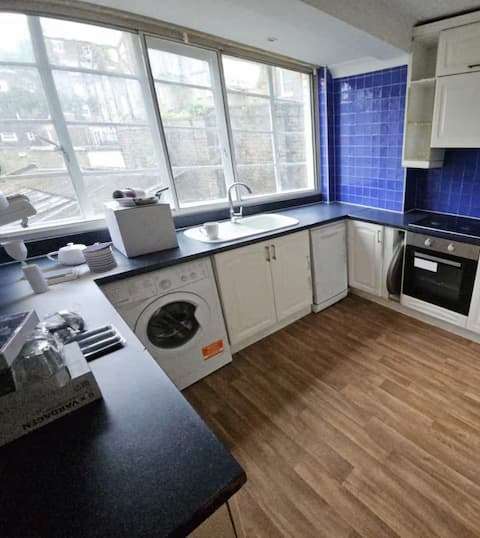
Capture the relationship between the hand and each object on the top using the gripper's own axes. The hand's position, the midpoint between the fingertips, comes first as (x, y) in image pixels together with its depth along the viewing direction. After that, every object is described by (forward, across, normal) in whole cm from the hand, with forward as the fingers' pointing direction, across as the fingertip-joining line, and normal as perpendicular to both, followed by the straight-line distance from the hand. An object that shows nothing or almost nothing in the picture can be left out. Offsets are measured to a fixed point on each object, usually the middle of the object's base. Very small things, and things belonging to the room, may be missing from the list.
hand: (10, 232), depth 115 cm
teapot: (+41, -20, -16) cm, 49 cm away
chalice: (+37, 0, -16) cm, 40 cm away
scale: (+31, -5, -1) cm, 32 cm away
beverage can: (+26, +5, +8) cm, 28 cm away
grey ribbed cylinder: (+32, -20, +6) cm, 39 cm away
